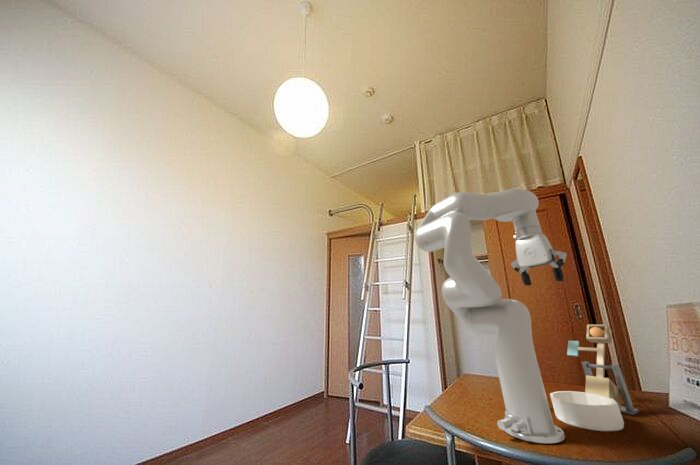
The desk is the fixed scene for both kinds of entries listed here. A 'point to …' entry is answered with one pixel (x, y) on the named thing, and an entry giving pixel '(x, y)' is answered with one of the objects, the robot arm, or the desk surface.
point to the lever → (597, 383)
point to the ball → (597, 332)
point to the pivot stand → (621, 384)
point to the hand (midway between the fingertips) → (543, 283)
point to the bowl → (587, 410)
